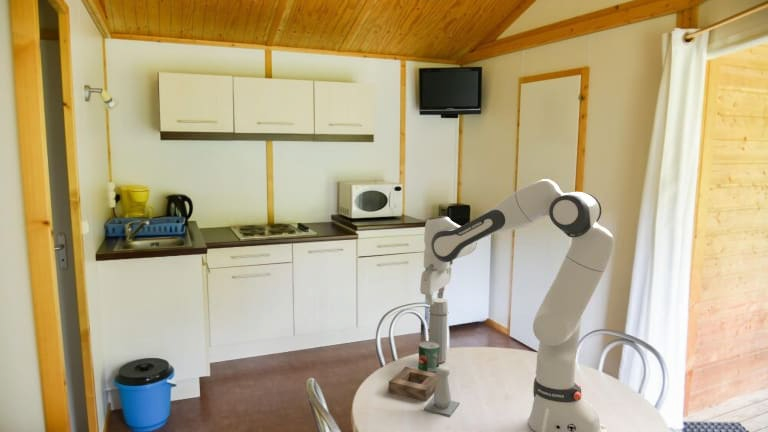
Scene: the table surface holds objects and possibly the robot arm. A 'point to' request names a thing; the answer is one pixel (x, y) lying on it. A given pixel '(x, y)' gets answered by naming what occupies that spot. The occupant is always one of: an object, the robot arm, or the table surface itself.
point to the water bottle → (439, 325)
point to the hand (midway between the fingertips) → (435, 301)
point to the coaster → (444, 411)
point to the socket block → (413, 383)
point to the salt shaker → (442, 388)
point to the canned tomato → (428, 356)
